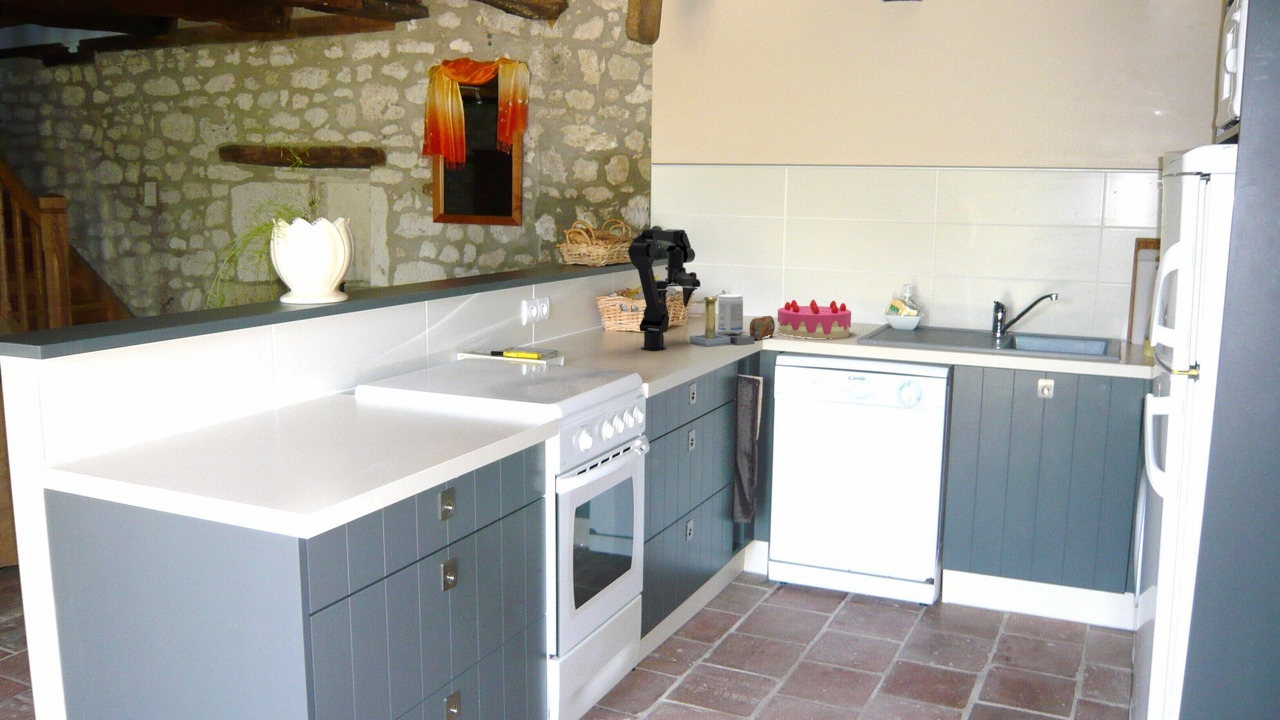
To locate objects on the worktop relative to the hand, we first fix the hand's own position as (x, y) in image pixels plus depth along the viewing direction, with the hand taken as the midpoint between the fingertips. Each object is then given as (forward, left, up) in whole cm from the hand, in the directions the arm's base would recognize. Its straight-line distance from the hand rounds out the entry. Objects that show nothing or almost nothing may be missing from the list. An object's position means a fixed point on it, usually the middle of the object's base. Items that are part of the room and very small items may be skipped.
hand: (674, 307), depth 363 cm
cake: (+57, -18, -13) cm, 61 cm away
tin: (+33, -13, -13) cm, 38 cm away
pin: (+9, -9, -12) cm, 18 cm away
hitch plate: (+19, -11, -13) cm, 25 cm away
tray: (+9, -9, -13) cm, 18 cm away
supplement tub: (+35, +5, -13) cm, 38 cm away
